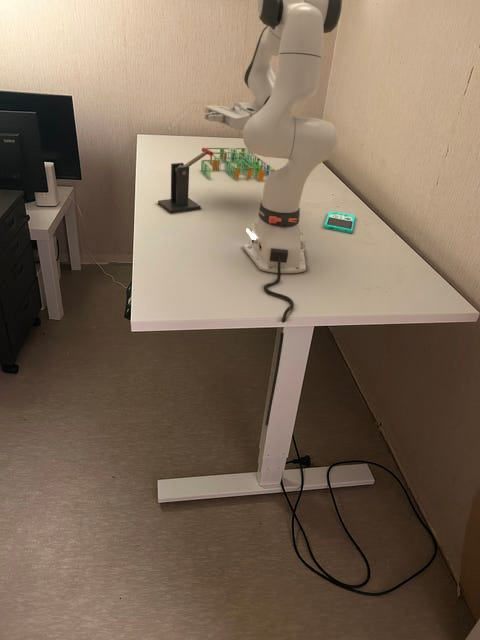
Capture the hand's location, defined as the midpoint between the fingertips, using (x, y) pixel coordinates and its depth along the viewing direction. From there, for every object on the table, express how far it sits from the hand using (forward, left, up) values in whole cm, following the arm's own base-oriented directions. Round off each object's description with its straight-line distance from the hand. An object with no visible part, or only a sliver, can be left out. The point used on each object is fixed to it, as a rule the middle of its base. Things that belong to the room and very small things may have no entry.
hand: (207, 117), depth 155 cm
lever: (-2, +4, -15) cm, 16 cm away
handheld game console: (-14, -49, -30) cm, 59 cm away
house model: (+46, -16, -30) cm, 57 cm away
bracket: (-4, +9, -30) cm, 32 cm away
